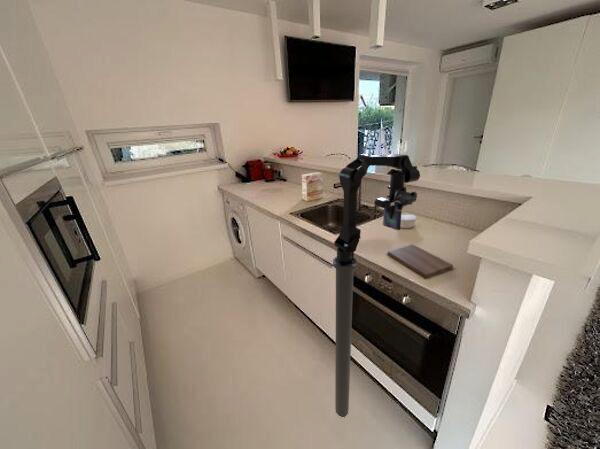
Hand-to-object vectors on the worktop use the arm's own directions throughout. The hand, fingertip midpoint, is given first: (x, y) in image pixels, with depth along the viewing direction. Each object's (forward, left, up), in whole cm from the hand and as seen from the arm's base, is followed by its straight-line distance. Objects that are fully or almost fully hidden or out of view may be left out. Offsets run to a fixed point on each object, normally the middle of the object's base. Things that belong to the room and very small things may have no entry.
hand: (393, 218), depth 111 cm
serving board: (-2, -18, -13) cm, 22 cm away
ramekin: (+21, +13, -13) cm, 28 cm away
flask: (0, +1, -5) cm, 5 cm away
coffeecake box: (+1, +88, -13) cm, 89 cm away
